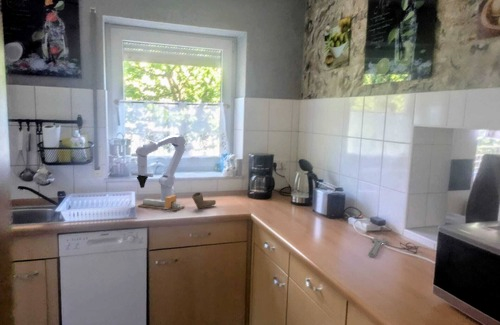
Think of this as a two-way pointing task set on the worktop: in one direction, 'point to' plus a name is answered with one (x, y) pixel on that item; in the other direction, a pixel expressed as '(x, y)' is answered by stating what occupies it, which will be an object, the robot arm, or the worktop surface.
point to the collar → (169, 200)
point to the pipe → (202, 201)
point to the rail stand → (160, 205)
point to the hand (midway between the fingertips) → (142, 187)
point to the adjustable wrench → (376, 246)
